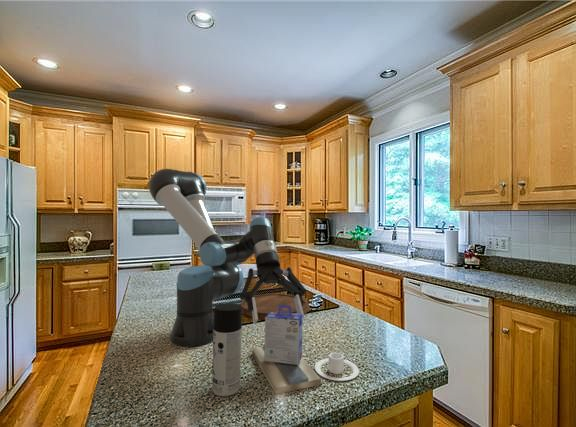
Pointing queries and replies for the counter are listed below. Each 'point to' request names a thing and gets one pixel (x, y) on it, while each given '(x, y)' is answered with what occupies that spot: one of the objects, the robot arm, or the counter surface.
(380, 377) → the counter surface
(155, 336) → the counter surface
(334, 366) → the candle holder
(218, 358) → the spray can
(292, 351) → the ink cartridge box
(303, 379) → the rail board
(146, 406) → the counter surface
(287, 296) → the cutting board
